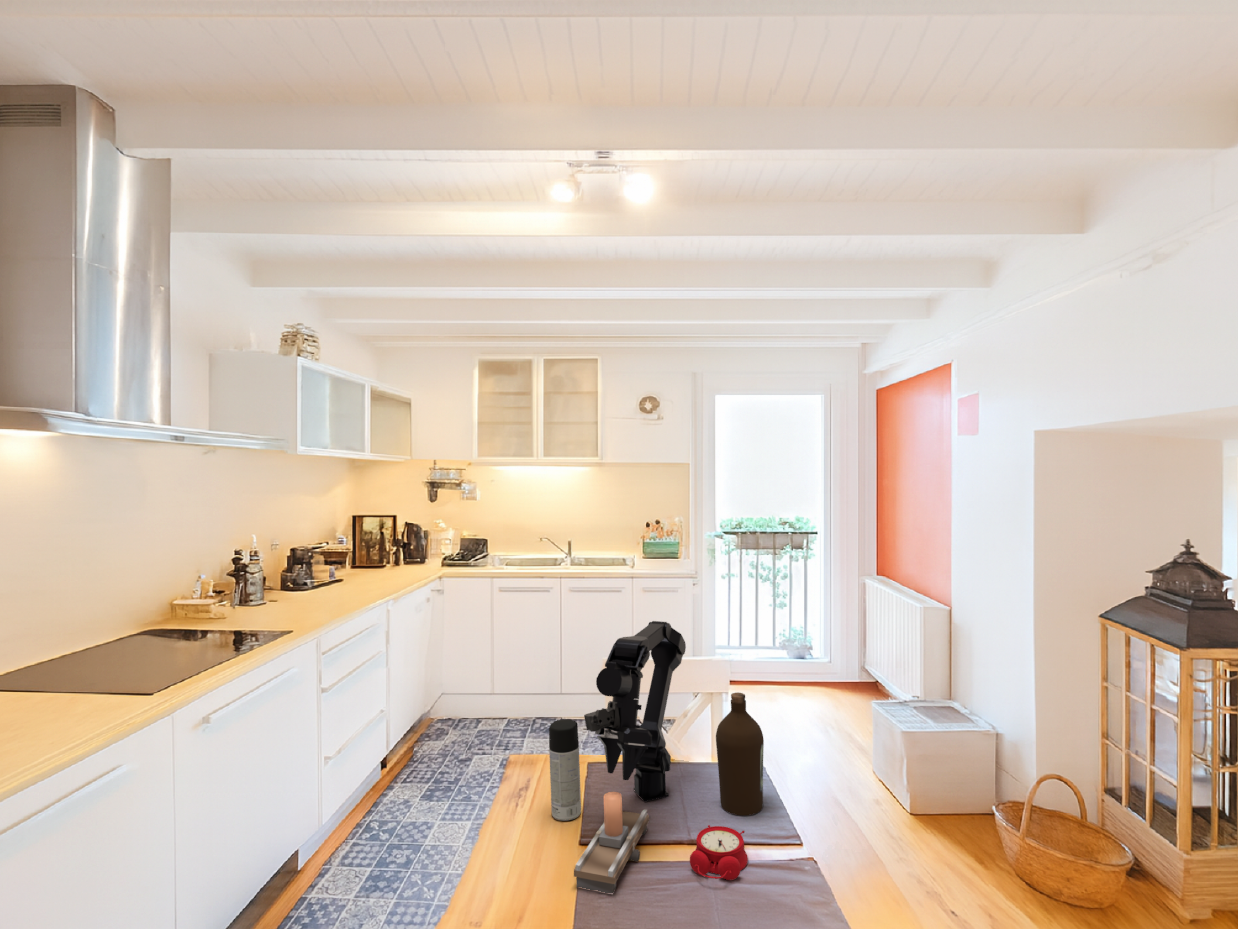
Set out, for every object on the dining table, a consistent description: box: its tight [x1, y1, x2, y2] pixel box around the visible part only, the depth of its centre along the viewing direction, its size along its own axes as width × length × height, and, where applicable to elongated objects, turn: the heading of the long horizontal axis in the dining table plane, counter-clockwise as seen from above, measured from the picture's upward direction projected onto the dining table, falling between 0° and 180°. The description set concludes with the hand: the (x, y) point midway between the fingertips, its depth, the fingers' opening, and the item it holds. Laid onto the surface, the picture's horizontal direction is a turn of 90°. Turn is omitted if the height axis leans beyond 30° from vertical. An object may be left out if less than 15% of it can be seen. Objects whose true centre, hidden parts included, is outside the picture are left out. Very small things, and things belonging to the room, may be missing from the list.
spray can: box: [548, 718, 582, 822], centre depth 146 cm, size 7×7×20 cm
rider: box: [599, 791, 628, 848], centre depth 129 cm, size 5×4×9 cm
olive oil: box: [715, 692, 765, 817], centre depth 147 cm, size 11×11×25 cm
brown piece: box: [573, 809, 650, 894], centre depth 129 cm, size 22×10×4 cm, turn 161°
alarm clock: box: [689, 824, 749, 881], centre depth 126 cm, size 10×6×15 cm
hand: (617, 776), depth 137 cm, fingers open, 9 cm apart
